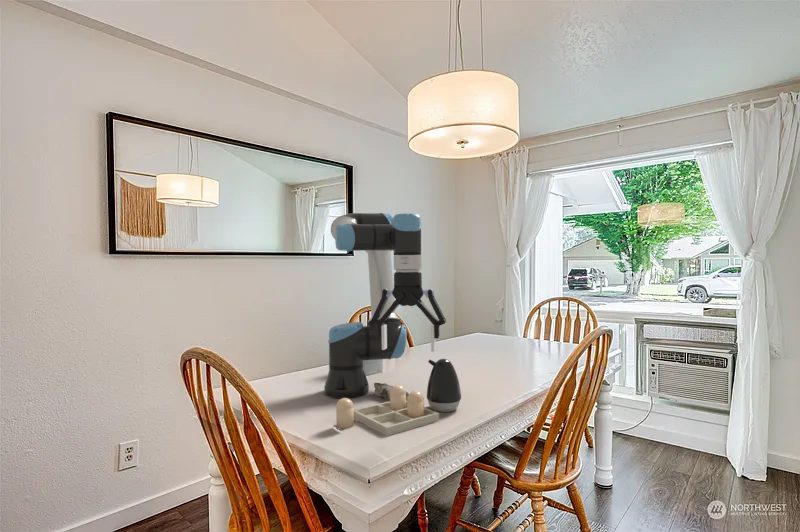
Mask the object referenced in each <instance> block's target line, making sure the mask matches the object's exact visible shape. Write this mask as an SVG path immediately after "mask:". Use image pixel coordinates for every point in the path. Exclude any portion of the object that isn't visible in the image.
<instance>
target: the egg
mask: <svg viewBox="0 0 800 532" xmlns="http://www.w3.org/2000/svg"><path fill="white" fill-rule="evenodd" d="M335 406H336V407H335V409H336V410H335V413H336V420H335V421H336V430H338V429H339V430H338V431H341V429H344V430H345V429H346V430H347V429H351V428H353V427H354V425H355V424H354V423H355V419H354V410H355V408H354V403H353V401H352V400H351V398H339V400H337V403H336V405H335Z"/></svg>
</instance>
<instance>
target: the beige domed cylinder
mask: <svg viewBox="0 0 800 532" xmlns="http://www.w3.org/2000/svg"><path fill="white" fill-rule="evenodd" d="M392 386H393V387H392V388H391V390H390V409H391V410H394V411H397V410H401V409H405V408H406V401H407V400H406V392H407V391H406V389H405V388H404V386H402V385H400V384H395V385H392ZM405 391H406V392H405Z"/></svg>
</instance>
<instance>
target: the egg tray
mask: <svg viewBox="0 0 800 532" xmlns="http://www.w3.org/2000/svg"><path fill="white" fill-rule="evenodd" d="M354 420H356V421H357V422H360V423H362V424H363V425H365V426H367V427H369V428H372V429H373V430H375V431H377V432H379V433H381V434H382V435H385V437H389V436H391V435H395V434H398V433H402V432H405V431H409V430H412V429H415V428H419V427H423V426H425V425H430V424H433V423H436V422H440V412H438V411H435V410H433V409H429V408H426V407H424V416H423V417H419V418H415V419H412V418H410V417H408V416H407V400H406V408H405V409H401V410H397V411H394V410H391V409H390V401H385V402H381V403H376V404H372V405H368V406H364V407H360V408H359V407H358V408H354Z"/></svg>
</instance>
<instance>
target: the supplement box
mask: <svg viewBox="0 0 800 532" xmlns="http://www.w3.org/2000/svg"><path fill="white" fill-rule="evenodd" d="M383 362H384V359H379V360H364V361H363V369H364V372H365V375H366V376H370V375H375V374H380V373H383V372H384V367H383V366H384V365H383Z"/></svg>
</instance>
